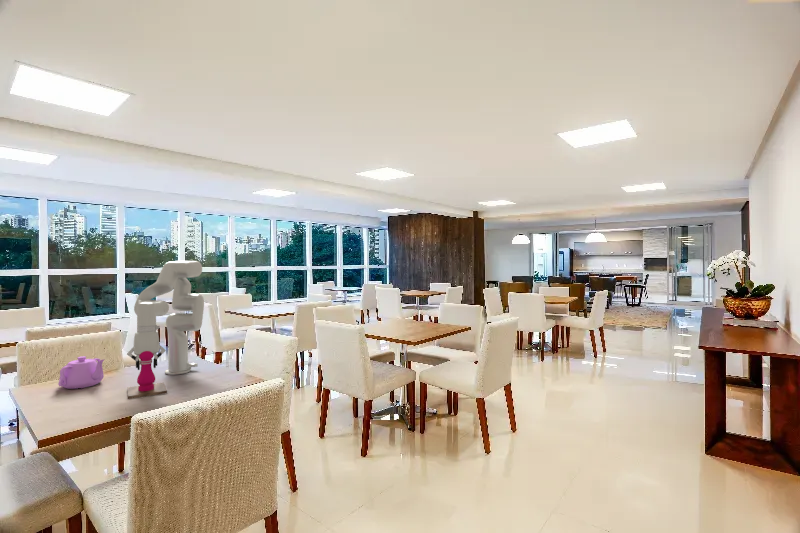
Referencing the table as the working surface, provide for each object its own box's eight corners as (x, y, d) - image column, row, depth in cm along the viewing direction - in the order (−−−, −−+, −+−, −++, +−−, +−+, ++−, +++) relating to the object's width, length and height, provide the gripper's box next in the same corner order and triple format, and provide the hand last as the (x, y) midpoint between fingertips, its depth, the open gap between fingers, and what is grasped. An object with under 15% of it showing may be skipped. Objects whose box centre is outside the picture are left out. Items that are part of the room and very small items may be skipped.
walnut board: (164, 384, 207) (164, 382, 207) (167, 393, 194) (167, 390, 194) (127, 390, 198) (127, 387, 198) (128, 399, 186) (128, 396, 186)
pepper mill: (141, 392, 191) (140, 348, 190) (134, 389, 195) (134, 346, 195) (158, 389, 196) (158, 345, 196) (151, 386, 201) (151, 343, 200)
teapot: (83, 394, 192) (83, 363, 192) (44, 391, 196) (43, 361, 196) (124, 380, 213) (124, 353, 213) (88, 378, 218) (87, 351, 217)
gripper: (167, 326, 204) (167, 364, 204) (124, 329, 194) (124, 369, 194) (168, 328, 197) (168, 367, 198) (124, 331, 188) (124, 372, 188)
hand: (146, 368), depth 196 cm, fingers open, 5 cm apart
